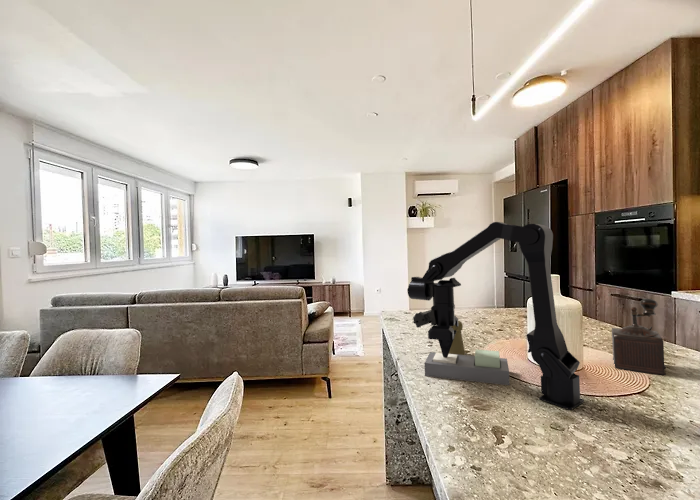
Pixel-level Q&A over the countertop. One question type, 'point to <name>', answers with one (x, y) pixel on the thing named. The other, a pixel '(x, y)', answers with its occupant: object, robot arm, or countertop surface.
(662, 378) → the countertop surface
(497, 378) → the key panel
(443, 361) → the cream key
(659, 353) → the brown manual coffee grinder
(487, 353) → the sage key
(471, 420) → the countertop surface
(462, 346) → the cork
